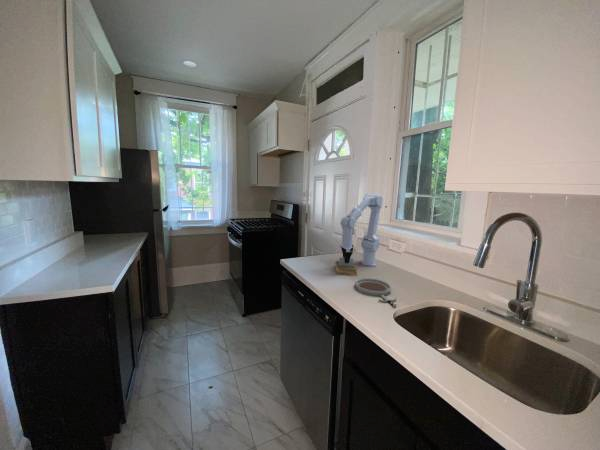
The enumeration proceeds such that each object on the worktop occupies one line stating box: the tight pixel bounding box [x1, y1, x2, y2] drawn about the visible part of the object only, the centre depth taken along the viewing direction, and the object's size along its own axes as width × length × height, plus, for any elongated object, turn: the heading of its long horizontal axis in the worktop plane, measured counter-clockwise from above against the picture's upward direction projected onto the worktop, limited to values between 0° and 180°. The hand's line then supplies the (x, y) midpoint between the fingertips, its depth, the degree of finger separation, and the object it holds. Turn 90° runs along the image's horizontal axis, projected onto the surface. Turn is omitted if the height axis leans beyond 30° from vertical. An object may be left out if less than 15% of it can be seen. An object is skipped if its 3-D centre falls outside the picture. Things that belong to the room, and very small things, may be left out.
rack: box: [334, 260, 358, 276], centre depth 146 cm, size 14×11×4 cm
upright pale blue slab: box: [338, 256, 354, 266], centre depth 146 cm, size 2×8×7 cm, turn 87°
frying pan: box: [354, 277, 397, 309], centre depth 116 cm, size 17×3×28 cm
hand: (345, 261), depth 145 cm, fingers open, 7 cm apart
